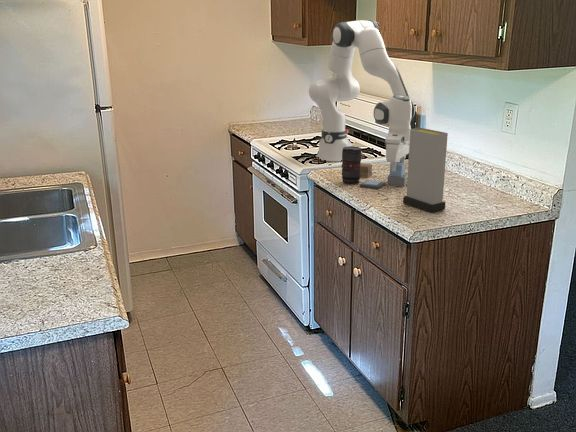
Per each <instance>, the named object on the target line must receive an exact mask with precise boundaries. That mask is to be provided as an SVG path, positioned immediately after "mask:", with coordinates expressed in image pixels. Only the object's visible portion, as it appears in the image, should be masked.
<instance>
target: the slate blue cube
mask: <svg viewBox="0 0 576 432" xmlns="http://www.w3.org/2000/svg"><path fill="white" fill-rule="evenodd" d="M396 166H397V170H396V171H392V167H391V163H390V164H389V174H390V176H396V177H402V176H403V175H405V174H406V166H407V165H406V162H404V163H403V162H400V161H397V163H396Z"/></svg>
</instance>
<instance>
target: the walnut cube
mask: <svg viewBox="0 0 576 432" xmlns="http://www.w3.org/2000/svg"><path fill="white" fill-rule="evenodd" d="M360 170H361V173H360V178H367V179H368V178H370V177H371V176H372V175H373V164H371V163H361V169H360Z"/></svg>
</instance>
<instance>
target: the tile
mask: <svg viewBox="0 0 576 432" xmlns="http://www.w3.org/2000/svg"><path fill="white" fill-rule="evenodd" d="M385 185H386V182H384V181H381V180H380V181H379V180H372V179H366V180H365V181H363V182H362V183H359V188H364V189H374V190H379V189H381V188H382V187H384V186H385Z"/></svg>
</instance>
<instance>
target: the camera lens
mask: <svg viewBox="0 0 576 432" xmlns="http://www.w3.org/2000/svg"><path fill="white" fill-rule="evenodd" d="M362 153H363V152H362V148H361V147H360V146H353V145H352V146H346V147H343V150H342V161H341V178H342V183H343V184H344V185H357V184H360V183H359V182H360V179H361V177H360V173H361V170H360V169H361V162H362Z"/></svg>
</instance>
